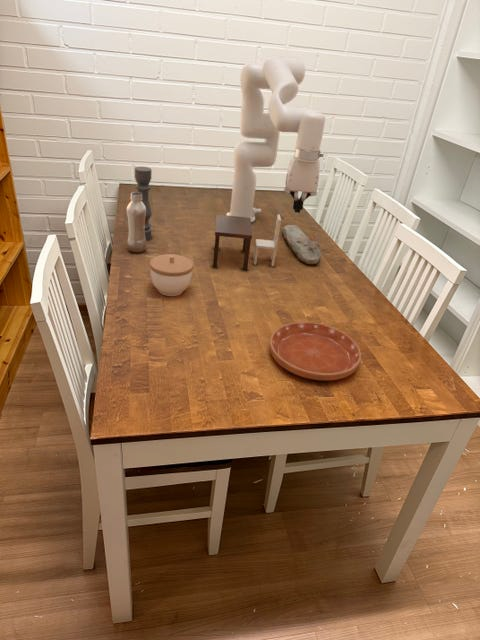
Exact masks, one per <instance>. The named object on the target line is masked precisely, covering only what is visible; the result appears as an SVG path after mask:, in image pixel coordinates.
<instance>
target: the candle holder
mask: <svg viewBox="0 0 480 640" xmlns="http://www.w3.org/2000/svg"><path fill="white" fill-rule="evenodd" d="M134 179H135V181H136V182H135V183H136V185H135V189H136V192H139V193H142V198H143V200H142V202H143V204H144V205H145V207H146V217H145V238H146V242H147V241H150V240H151V239H152V228H151V227H152V226H151V223H150V219H151V217H152V208H151V205H150V199H149V198H150V197H149V193H150V192H149V191H150V190H151V188H152V187H151V185H150V183H151V180H152V168H151V167H149V166H135V167H134Z"/></svg>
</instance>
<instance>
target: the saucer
mask: <svg viewBox="0 0 480 640" xmlns="http://www.w3.org/2000/svg"><path fill="white" fill-rule="evenodd" d="M269 351H270V354H271V357H272V358H273V359H274V361H275V362H276V363H277V364H278V365H279V366H281V367H282V368H283V369H285V370H286V371H288V372H290V373H291V374H294V375H296V376H298V377H302V378H306V379H309V380H314V381H315V380H316V381H337V380H340V379H341V380H342V379H345V378H347V377H349V376H351V375H353V374H354V373H355V372H356V370H357V369H358V368H359V366H360V364H361V363H360V362H361V359H362V352H361V349H360V347H359V345H358V343H357V342H356V341H355V340H354V339H353V338H352V337H350V336H349V335H348V334H346V333H345V332H343V331H341V330H339V329H337V328H335V327H333V326H330V325H327V324H324V323H323V324H322V323H319V322H311V321H296V322H289V323H285V324H284V325H281V326H279V327H278V328H276V329H275V330H274V331H273V332H272V334H271V335H270V339H269Z"/></svg>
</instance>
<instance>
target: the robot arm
mask: <svg viewBox="0 0 480 640" xmlns="http://www.w3.org/2000/svg"><path fill="white" fill-rule="evenodd" d="M305 76H306V67H305V63H304V62H303V61H302V60H301V59H300V58H298V57H294V56H293V57H292V56H286V55H285V56H284V55H272V56H270V57H268V58H267V59H265V61H263V62H260V61H251V62H247V63H244V65H243V67H242V69H241V71H240V76H239V77H240V79H239V82H240V91H241V109H240V121H239V132H240V135H241V136H242V137H244V138H247V139H257V140H258V139H260V140H263V141H248V140H247V141H245V140H244V141H240V142H237V144H236V145H235V146H234V148H233V179H232V189H231V197H230V208H229V211H228V212H227V213H226V214H225V215H228V216H238V217H247V218H251V224H252V223H254V222H255V221H256V216H255V215H256V214H261V213H262V209H261V208H256V207H254V202H255V196H256V186H257V175H256V173H255V172H254V170H253V168H269V167H272V166H273V165H275V164H276V160H277V156H278V149H279V148H278V147H279V141H280V134H281V133H293V134H297V137H296V143H295V148H294V149H295V150H294V155H293V156H291V158H290V161H289V163H288V168H287V173H286V177H285V183H284V184H285V186H284V188H283V192H284V193H285V194H288V195H290V196H291V197H292V198H293V204H292V210H293V211H294V213H296V214H297V213H298V214H301V211H302V210H303V207H304V202H305V201H306V200H307V199H308V198H310V197H315V196H317V194H318V192H317V190H318V187H319V180H320V171H321V160H320V158H324V154H325V152H323V151H321V147H322V146H321V145H322V139H323V136H324V135H323V134H324V129H325V123H326V116H325V114H324V113H322V112H318V111H316V109H314V108H312V107H302V106H291V105H286V104H288V103H290V102H292V101H293V100H294V99H295V98H296V97H297V95H298V92H299V86H300V85H301V84H302V83H303V81H304V79H305ZM262 90H270V91H271V95H270V97H269V100H268V107H267V108H268V110H267V111H268V112H264V109H265V97H264V94H263V92H262ZM299 192H300V193H301V195H300V197H299Z"/></svg>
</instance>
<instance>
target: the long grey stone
mask: <svg viewBox="0 0 480 640" xmlns="http://www.w3.org/2000/svg"><path fill="white" fill-rule="evenodd" d="M282 234H283V238H284V239H285V240H286V241H287V245H288V246H289V247H290V249H291V251H292V252H293V253H294V254H295V256H296V257H297V259H298V260H300V262H303V263H304V264H307V265H317V264H319V262H320V261H321V258H322V252H321V250H320V248H319V247H320V246H321V245H320V243H319V242H317V241H312V240H310V239H309V237H308V236H307V235H306V234H305V232H304V231H303V230H301V228H300V226H297V225H295V224H285V226H283V228H282Z"/></svg>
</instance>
